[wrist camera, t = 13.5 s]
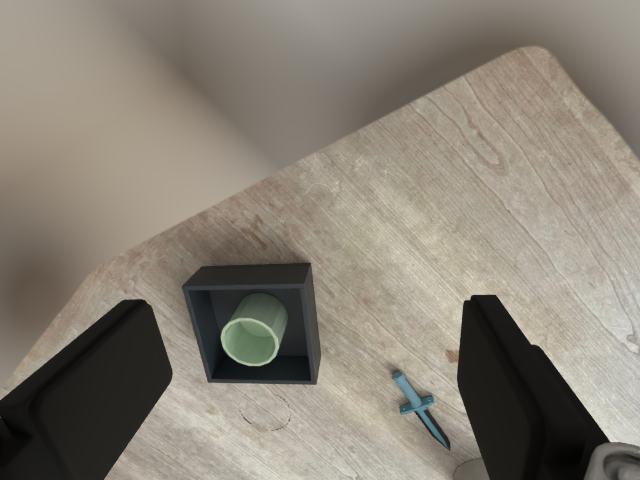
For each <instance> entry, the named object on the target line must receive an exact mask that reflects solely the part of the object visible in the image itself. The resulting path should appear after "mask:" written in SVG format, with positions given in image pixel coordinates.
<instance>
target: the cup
mask: <svg viewBox="0 0 640 480" xmlns="http://www.w3.org/2000/svg"><path fill="white" fill-rule="evenodd" d="M454 479H455V480H490V479H489V476H488V473H487V470H486V467H485V465H484V462H483V459H475V460H470V461H466V462H465V463H463V464H462V465H460V466H459V467H458V468H457V469H456V472H455V474H454Z"/></svg>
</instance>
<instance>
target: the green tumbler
mask: <svg viewBox="0 0 640 480" xmlns="http://www.w3.org/2000/svg"><path fill="white" fill-rule="evenodd" d="M287 322H288V314H287V311H286V309H285V307H284V305H283V304H282V303H281V302H280V301H279V300H278V299H276V298H275V297H273V296H271V295H268V294H265V293H254V294H250V295H248V296H246V297H244V298H243V299H242V300H241V301H240V303H239V304H238V305H237V307H236V308H235V310H234V312H233V313H232V315H231V316H230V318H229V320H228V321H227V323H226V324H225V326H224V328H223V330H222V334H221V342H222V346H223V348H224V350H225V351H226V353H227V354H228V355H229V356H230V357H231V358H233V359H234V360H235V361H237V362H238V363H241V364H245V365H248V366H261V365H264V364H267V363H269V362H270V361H271V360H273V359H274V358H275V357H276V355H277V352H278V349H279V346H280V343H281V340H282V337H283V334H284V331H285V328H286V325H287Z"/></svg>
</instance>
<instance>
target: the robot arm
mask: <svg viewBox="0 0 640 480" xmlns="http://www.w3.org/2000/svg"><path fill="white" fill-rule="evenodd" d="M172 375H173V372H172V368H171V365H170V362H169V359H168V356H167V352H166V349H165V346H164V343H163V340H162V337H161V334H160V331H159V328H158V325H157V322H156V319H155V315H154V312H153V309H152V307H151V306H150V305H149V304H147V302H146V301H145V300H142V299H135V300H123V301H121V302H120V303H118V304H117V305H116V306H115V307H114V308H112V309H111V310H110V311H109V312H108V313H106V314H105V315H104V316H103V317H101V318H100V319H99V320H98V321H97V322H95V323H94V324H93V325H92V326H90V327H89V328H88V329H87V330H86V331H84V332H83V333H82V334H81V335H79V336H78V337H77V338H76V339H75V340H73V341H72V342H71V343H70V344H69V345H67V346H66V347H65V348H64V349H62V350H61V351H60V352H59V353H58V354H56V355H55V356H54V357H53V358H51V359H50V360H49V361H48V362H47V363H45V364H44V365H43V366H42V367H40V368H39V369H38V370H37V371H36V372H34V373H33V374H32V375H31V376H29V377H28V378H27V379H26V380H25V381H23V382H22V383H21V384H20V385H19V386H17V387H16V388H15V389H14V390H12V391H11V392H10V393H9V394H8V395H6V396H5V397H4V398H3V399H1V400H0V417H1V418H0V480H104V478H105V477H106V476H107V474H108V473H109V471H110V470H111V468H112V467H113V465H114V464H115V462H116V461H117V460H118V458H119V457H120V455H121V454H122V452H123V451H124V449H125V448H126V446H127V445H128V443H129V442H130V441H131V439H132V438H133V436H134V435H135V433H136V432H137V430H138V429H139V427H140V426H141V425H142V423H143V422H144V420H145V419H146V417H147V416H148V414H149V413H150V411H151V410H152V409H153V407H154V406H155V404H156V403H157V401H158V400H159V398H160V397H161V395H162V394H163V392H164V391H165V390H166V388H167V387H168V385H169V384H170V382H171V379H172ZM457 382H458V388H459V391H460V394H461V397H462V400H463V403H464V406H465V409H466V412H467V415H468V418H469V421H470V424H471V427H472V429H473V432H474V435H475V438H476V441H477V444H478V447H479V450H480V453H481V456H482V459H483V462H484V465H485V467H486V470H487V473H488V476H489V479H490V480H640V447H638V446H636V445H631V444H626V443H621V442H610V441H609V439H608V438H607V437H606V435H605V434H604V433H603V431H602V430H601V428H600V427H599V426H598V424H597V423H596V422H595V420H594V419H593V418H592V416H591V415H590V414H589V412H588V411H587V410H586V408H585V407H584V405H583V404H582V403H581V401H580V400H579V399H578V397H577V396H576V395H575V393H574V392H573V391H572V389H571V388H570V387H569V385H568V384H567V382H566V381H565V380H564V378H563V377H562V376H561V374H560V373H559V372H558V370H557V369H556V368H555V366H554V365H553V363H552V362H551V361H550V359H549V358H548V357H547V355H546V354H545V353H544V351H543V350H542V349H541V348H540V347H539V346H537V345H531V344H530V342H529V341H528V340H527V338H526V337H525V335H524V334H523V333H522V331H521V330H520V328H519V327H518V326H517V324H516V323H515V321H514V320H513V318H512V317H511V316H510V314H509V313H508V311H507V310H506V309H505V307H504V306H503V304H502V303H501V301H500V300H499V299H498V297H497V296H496V295H472V296H471V299H470V300H465V301H464V304H463V315H462V326H461V338H460V349H459V361H458V372H457Z"/></svg>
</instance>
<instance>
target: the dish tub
mask: <svg viewBox="0 0 640 480" xmlns="http://www.w3.org/2000/svg"><path fill="white" fill-rule="evenodd" d="M182 289H183V292H184V296H185V300H186V303H187V307H188V311H189V314H190V318H191V322H192V325H193V329H194V333H195V336H196V340H197V344H198V347H199V351H200V355H201V358H202V362H203V366H204V369H205V373H206V376H207V380H208V383H258V384H308V385H316V384H317V378H318V372H319V366H320V359H321V351H320V342H319V333H318V324H317V315H316V306H315V296H314V287H313V278H312V269H311V263H300V264H268V265H236V266H205V267H201V268H200V269H199V270H198V271H197V272H196V273H195V274H194V275H193V276H192V277H191V278H190V279H189V280H188V281H187V282H186V283H185V284H184V285H183V286H182ZM254 293H265V294H268V295H271V296H273V297H275V298H276V299H278V300H279V301H280V302H281V303H282V304H283V305H284V307H285V309H286V311H287V314H288V322H287V325H286V328H285V331H284V334H283V337H282V340H281V343H280V346H279V349H278V352H277V355H276V357H275V358H274V359H273V360H271V361H270V362H269V363H267V364H264V365H261V366H248V365H245V364H241V363H238V362H237V361H235V360H234V359H233V358H231V357H230V356H229V355H228V354H227V353H226V351H225V350H224V348H223V346H222V342H221V334H222V330H223V328H224V326H225V324H226V323H227V321H228V320H229V318H230V316H231V315H232V313H233V312H234V310H235V308H236V307H237V305H238V304H239V303H240V301H241V300H242V299H243V298H244V297H246V296H248V295H250V294H254Z"/></svg>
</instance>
